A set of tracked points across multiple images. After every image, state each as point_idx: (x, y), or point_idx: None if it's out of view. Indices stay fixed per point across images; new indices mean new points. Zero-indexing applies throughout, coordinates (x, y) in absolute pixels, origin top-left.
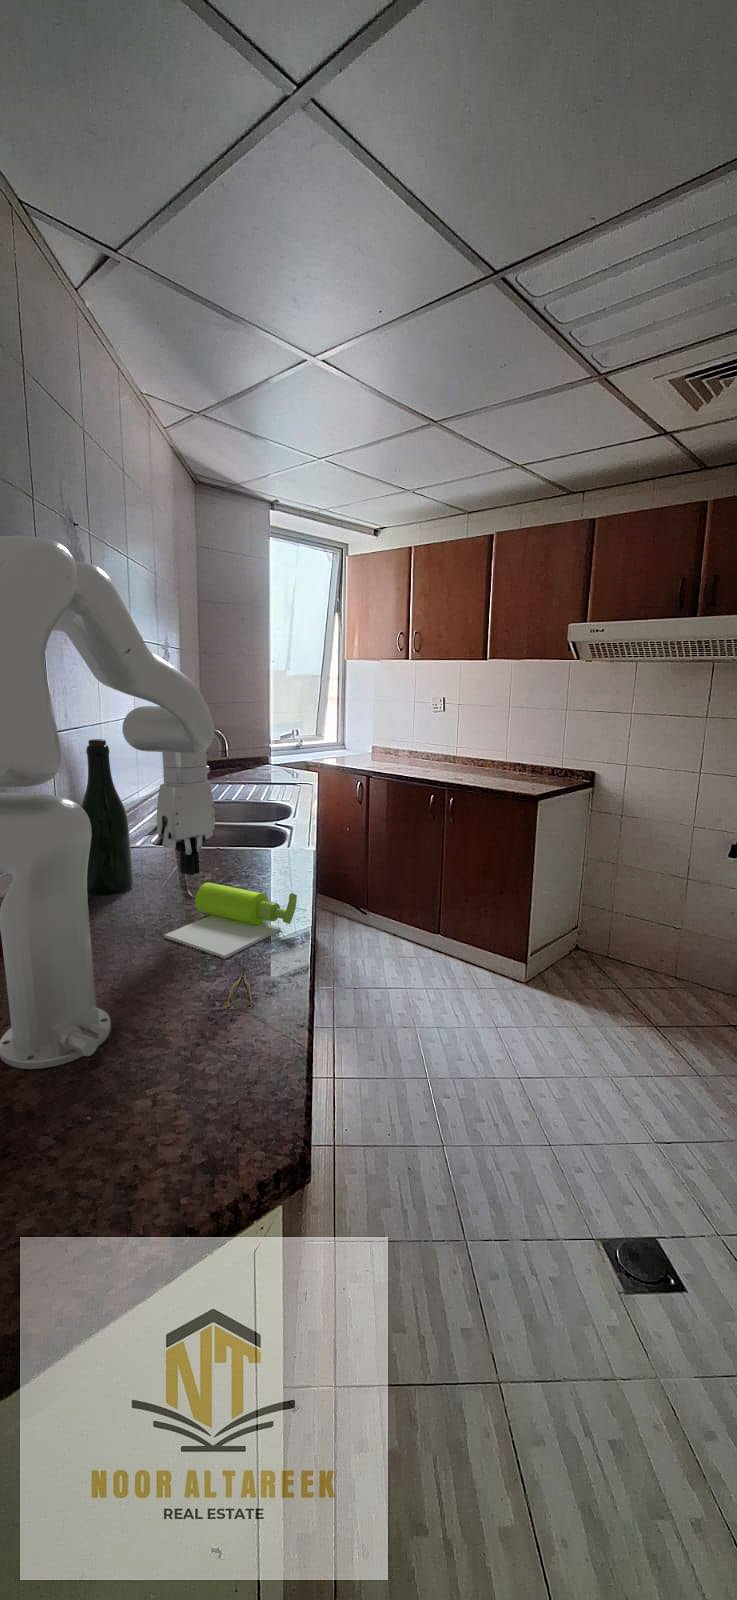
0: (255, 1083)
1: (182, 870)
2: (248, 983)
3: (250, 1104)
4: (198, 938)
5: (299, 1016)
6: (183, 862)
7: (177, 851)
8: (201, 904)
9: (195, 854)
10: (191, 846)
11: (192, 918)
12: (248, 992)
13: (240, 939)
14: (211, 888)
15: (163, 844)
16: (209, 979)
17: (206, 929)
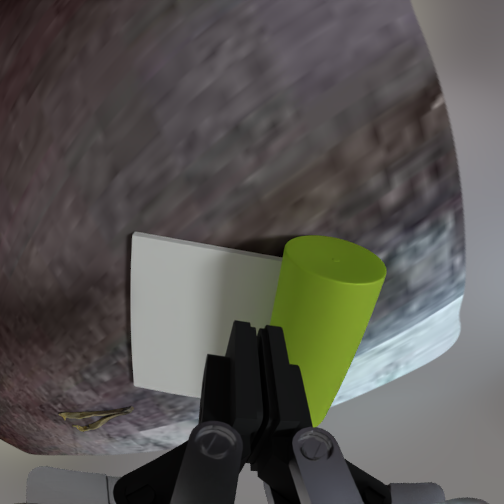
0: (34, 440)
1: (233, 333)
2: (100, 425)
3: (24, 439)
4: (158, 319)
5: (101, 454)
6: (202, 400)
7: (193, 432)
8: (280, 274)
9: (249, 462)
10: (282, 475)
11: (280, 213)
12: (92, 425)
13: (200, 382)
14: (314, 324)
15: (31, 482)
16: (80, 384)
17: (209, 307)
